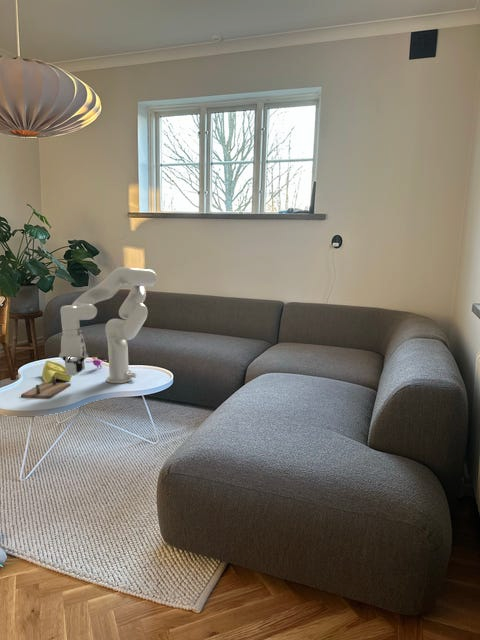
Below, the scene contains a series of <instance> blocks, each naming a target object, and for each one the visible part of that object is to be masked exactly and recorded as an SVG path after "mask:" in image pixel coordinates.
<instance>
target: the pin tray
mask: <svg viewBox="0 0 480 640" xmlns="http://www.w3.org/2000/svg"><path fill="white" fill-rule="evenodd" d="M52 379H53V381H52V382H51V383H48V382H44V381H43V382H42V383H39V384H36V385H35V386H34V387H32V388H31V389H28V390H26V391H25V392H23V393H21V394H20V397H21V398H30V399H31V398H33V399H35V398H36V399H52V398H53V397H55V396H56V395H58V394H60V393H61V392H63V391H65V390H66V389H68V388H69V387H71V383H70V382H69V383H68V382H66V383H65V382H57V381H56V380H57V378H56V377H55V376H52Z"/></svg>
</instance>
